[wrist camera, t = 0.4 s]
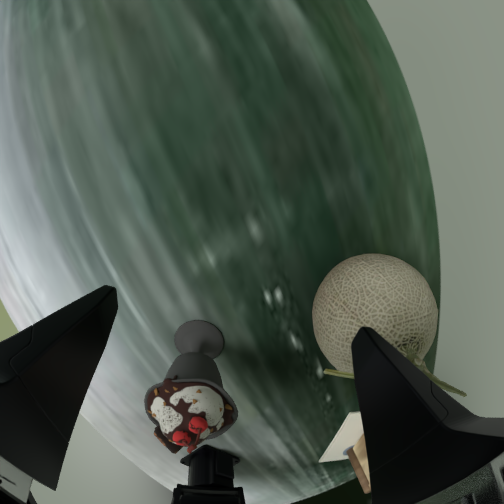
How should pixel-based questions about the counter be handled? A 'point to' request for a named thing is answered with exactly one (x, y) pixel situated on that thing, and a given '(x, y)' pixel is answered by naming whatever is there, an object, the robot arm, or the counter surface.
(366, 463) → the fence panel
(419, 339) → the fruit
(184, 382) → the sundae
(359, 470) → the wooden plank
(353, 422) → the card
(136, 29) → the counter surface
